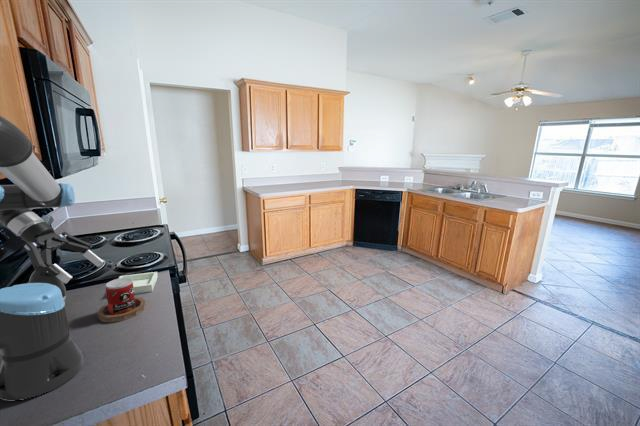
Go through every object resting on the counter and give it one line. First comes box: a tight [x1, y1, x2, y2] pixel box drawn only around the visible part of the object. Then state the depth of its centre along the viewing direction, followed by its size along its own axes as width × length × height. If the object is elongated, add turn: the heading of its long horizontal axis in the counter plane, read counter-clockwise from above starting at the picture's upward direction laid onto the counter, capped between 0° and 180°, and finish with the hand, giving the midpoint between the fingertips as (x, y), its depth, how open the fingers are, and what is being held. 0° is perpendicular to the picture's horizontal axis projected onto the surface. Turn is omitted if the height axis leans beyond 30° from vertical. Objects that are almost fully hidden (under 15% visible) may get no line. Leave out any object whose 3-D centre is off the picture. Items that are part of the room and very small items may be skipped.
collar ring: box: [96, 296, 147, 323], centre depth 97 cm, size 13×13×2 cm
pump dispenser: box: [27, 270, 67, 301], centre depth 98 cm, size 10×10×15 cm
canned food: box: [105, 277, 136, 315], centre depth 96 cm, size 8×8×11 cm
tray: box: [117, 271, 159, 295], centre depth 115 cm, size 14×14×3 cm
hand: (86, 271), depth 94 cm, fingers open, 13 cm apart
